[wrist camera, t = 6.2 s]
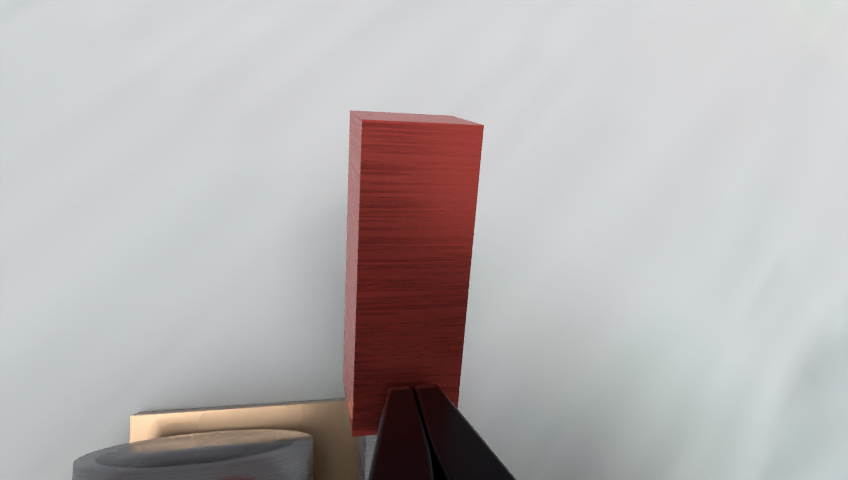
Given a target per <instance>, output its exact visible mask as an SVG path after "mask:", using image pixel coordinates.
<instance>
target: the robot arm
mask: <svg viewBox="0 0 848 480" xmlns="http://www.w3.org/2000/svg"><path fill="white" fill-rule="evenodd" d="M368 480H516V479H515V478H514V477H513V475H512V474H511V473H510V472H509V471H508V469H507V468H506V467H505V466H504V465H503V463H502V462H501V461H500V460H499V458H498V457H497V456H496V455H495V454H494V452H493V451H492V450H491V449H490V448H489V446H488V445H487V444H486V443H485V442H484V440H483V439H482V438H481V437H480V436H479V434H478V433H477V432H476V431H475V430H474V428H473V427H472V426H471V425H470V424H469V422H468V421H467V420H466V419H465V417H464V416H463V415H462V414H461V413H460V411H459V410H458V409H457V408H456V407H455V405H454V404H453V403H452V402H451V401H450V399H449V398H448V397H447V396H446V395H445V393H444V392H443V391H442V390H441V389H440V387H439V386H437V385H435V384H421V385H414V386H413V387H412V388H411V387H410V386H408V385H405V386H391V387H388V389H387V391H386V395H385V400H384V405H383V410H382V414H381V419H380V424H379V428H378V433H377V438H376V443H375V447H374V452H373V457H372V462H371V466H370V471H369V476H368Z"/></svg>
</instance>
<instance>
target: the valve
mask: <svg viewBox="0 0 848 480" xmlns="http://www.w3.org/2000/svg"><path fill="white" fill-rule="evenodd" d="M358 451H359V436H356V437H352V434H351V427H350V421H349V414H348V408H347V401H346V398H344V399H329V400H314V401H299V402H284V403H270V404H255V405H240V406H225V407H210V408H195V409H180V410H165V411H151V412H139V413H137V414H134V415H132V416H131V421H130V441H129V443H127V444H122V445H118V446H113V447H109V448H105V449H102V450H98V451H95V452H92V453H89V454H86V455H84V456H82V457H80V458H78V459H76V460H75V461H74V462H73V477H72V480H357V479H358Z"/></svg>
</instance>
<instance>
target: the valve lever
mask: <svg viewBox="0 0 848 480" xmlns="http://www.w3.org/2000/svg"><path fill="white" fill-rule="evenodd" d="M483 128H484V125H481V124H478V123H474V122H471V121H468V120H464V119H461V118H457V117H454V116H446V115H427V114H407V113H388V112H369V111H350V133H349V173H348V212H347V252H346V291H345V331H344V370H343V382H344V388H345V395H346V401H347V408H348V414H349V421H350V427H351V434H352V437H356V436H359V451H358V479H357V480H368V476H369V471H370V466H371V462H372V457H373V452H374V447H375V443H376V438H377V433H378V428H379V424H380V419H381V414H382V410H383V405H384V400H385V395H386V391H387V389H388V387H391V386H405V385H408V386H410V387H411V388H412V387H413V386H414V385H421V384H435V385H437V386H439V387H440V389H441V390H442V391H443V392H444V393H445V395H446V396H447V397H448V398H449V399H450V401H451V402H452V403H453V404H454V405H455V407H456V408H458V397H459V386H460V375H461V365H462V354H463V343H464V332H465V322H466V311H467V300H468V289H469V279H470V268H471V257H472V246H473V236H474V225H475V214H476V203H477V193H478V182H479V171H480V160H481V150H482V139H483Z"/></svg>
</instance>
